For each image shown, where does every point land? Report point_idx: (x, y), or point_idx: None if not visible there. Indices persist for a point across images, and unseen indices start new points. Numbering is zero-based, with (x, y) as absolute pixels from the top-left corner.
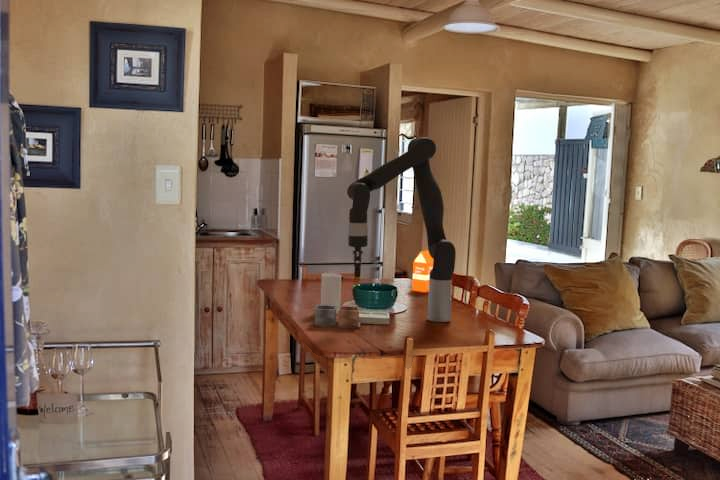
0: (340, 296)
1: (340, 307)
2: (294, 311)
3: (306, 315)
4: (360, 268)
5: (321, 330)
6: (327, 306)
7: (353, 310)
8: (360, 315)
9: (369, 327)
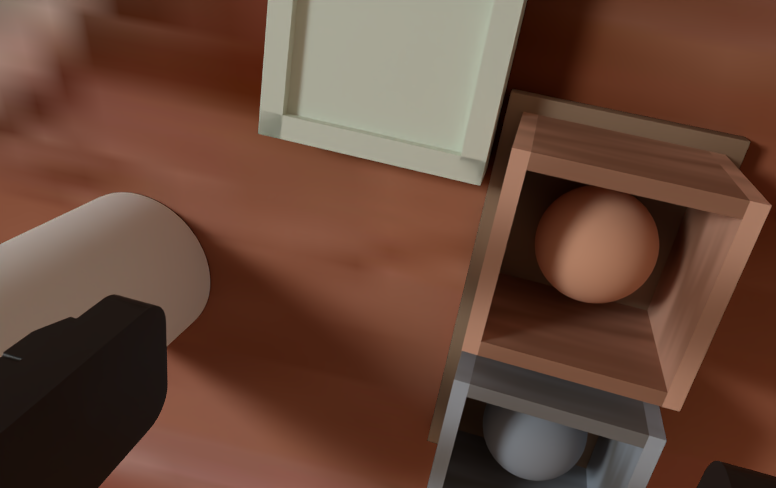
0: (41, 248)
1: (541, 362)
2: (154, 476)
3: (253, 437)
4: (67, 373)
5: (731, 456)
6: (452, 449)
7: (725, 263)
8: (380, 72)
9: (695, 21)
